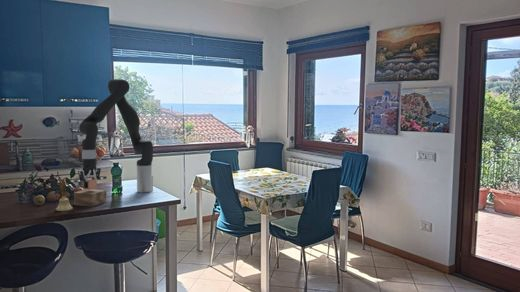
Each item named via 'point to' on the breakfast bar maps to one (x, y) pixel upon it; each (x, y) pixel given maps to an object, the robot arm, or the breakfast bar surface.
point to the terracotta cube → (91, 184)
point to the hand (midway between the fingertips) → (90, 187)
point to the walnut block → (89, 197)
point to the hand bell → (63, 199)
